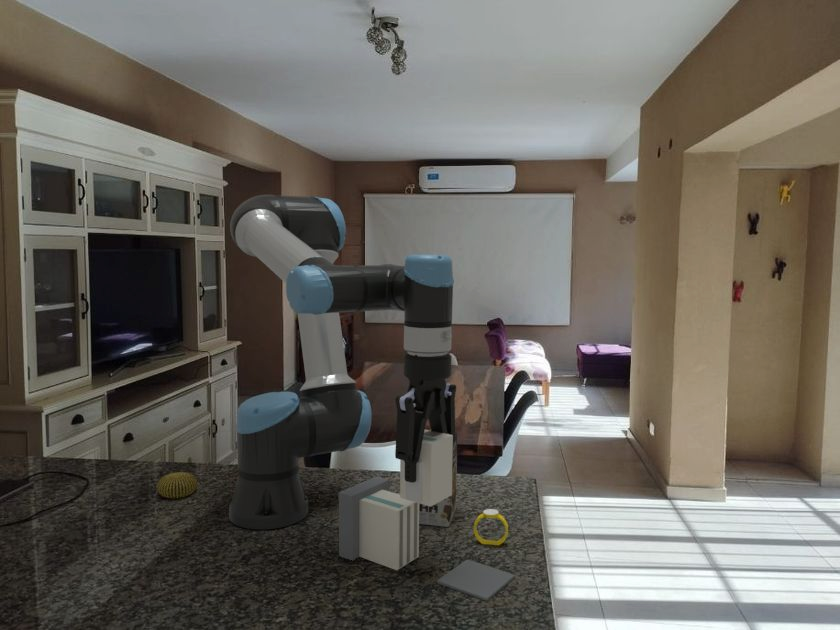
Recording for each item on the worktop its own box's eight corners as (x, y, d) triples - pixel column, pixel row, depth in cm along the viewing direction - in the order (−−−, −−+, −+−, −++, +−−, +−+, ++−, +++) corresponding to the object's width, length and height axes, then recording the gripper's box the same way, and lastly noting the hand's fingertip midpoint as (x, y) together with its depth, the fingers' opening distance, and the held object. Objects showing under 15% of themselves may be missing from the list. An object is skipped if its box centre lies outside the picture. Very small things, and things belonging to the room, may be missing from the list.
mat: (436, 583, 104) (436, 580, 104) (467, 561, 111) (467, 559, 111) (486, 601, 99) (486, 598, 99) (515, 577, 106) (515, 575, 106)
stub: (400, 497, 106) (400, 436, 105) (421, 487, 111) (422, 428, 110) (430, 506, 103) (431, 443, 102) (451, 495, 108) (452, 434, 107)
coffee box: (450, 527, 125) (451, 444, 123) (416, 524, 126) (417, 441, 124) (457, 509, 134) (458, 431, 132) (425, 506, 135) (426, 428, 133)
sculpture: (193, 467, 146) (200, 478, 139) (193, 485, 146) (200, 497, 139) (154, 473, 142) (159, 484, 135) (154, 491, 142) (160, 504, 135)
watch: (474, 547, 117) (472, 514, 117) (475, 540, 120) (473, 508, 120) (508, 547, 116) (506, 514, 116) (508, 540, 119) (507, 508, 119)
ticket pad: (334, 554, 113) (334, 491, 112) (371, 534, 121) (372, 475, 120) (389, 575, 106) (390, 507, 105) (425, 552, 114) (426, 489, 113)
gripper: (411, 363, 95) (409, 518, 97) (479, 347, 110) (476, 482, 113) (370, 357, 99) (370, 506, 102) (441, 343, 115) (439, 473, 117)
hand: (426, 493), depth 107 cm, fingers closed on stub, 6 cm apart
